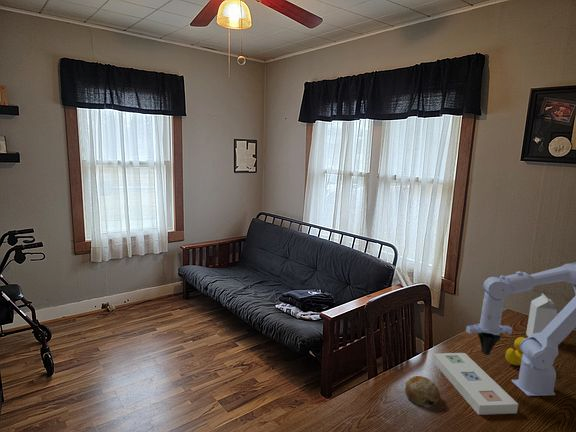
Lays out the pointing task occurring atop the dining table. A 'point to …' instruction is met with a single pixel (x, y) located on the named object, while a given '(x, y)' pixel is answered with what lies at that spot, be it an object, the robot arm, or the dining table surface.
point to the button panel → (474, 385)
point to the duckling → (515, 353)
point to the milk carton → (540, 314)
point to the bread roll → (422, 391)
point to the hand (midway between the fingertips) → (485, 353)
